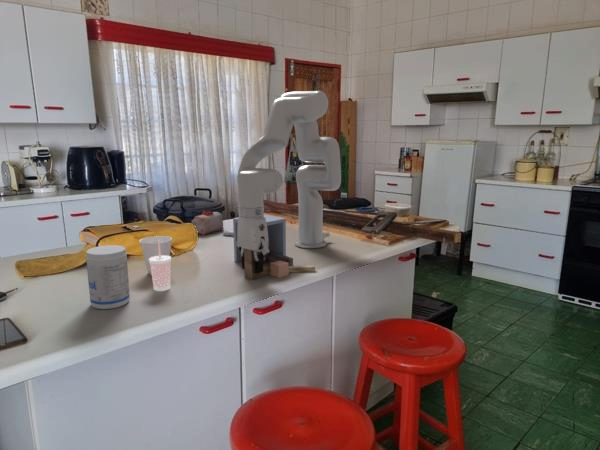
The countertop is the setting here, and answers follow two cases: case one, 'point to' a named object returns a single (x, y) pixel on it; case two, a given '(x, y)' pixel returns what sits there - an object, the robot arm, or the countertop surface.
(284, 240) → the cubby
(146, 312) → the countertop surface
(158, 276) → the beverage cup
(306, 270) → the oak stick
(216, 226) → the food item
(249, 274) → the wooden l-bracket
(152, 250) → the cup
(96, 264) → the supplement tub
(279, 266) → the terracotta block
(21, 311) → the countertop surface
